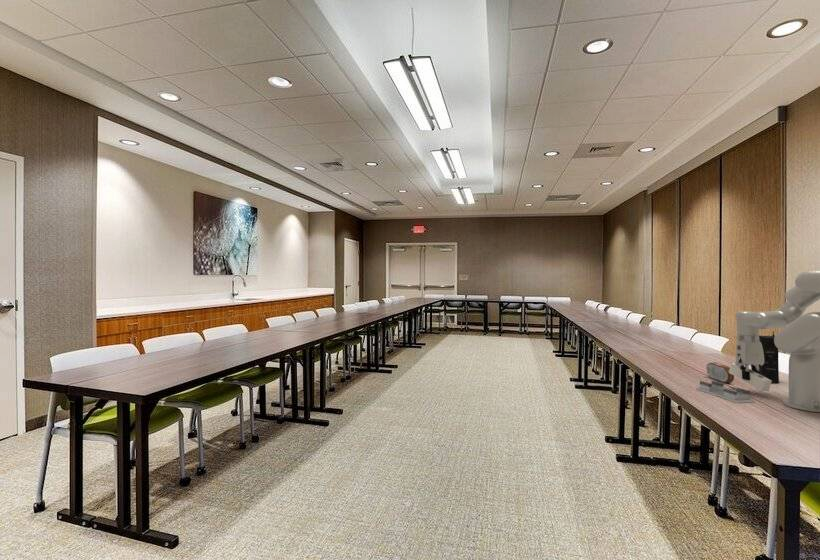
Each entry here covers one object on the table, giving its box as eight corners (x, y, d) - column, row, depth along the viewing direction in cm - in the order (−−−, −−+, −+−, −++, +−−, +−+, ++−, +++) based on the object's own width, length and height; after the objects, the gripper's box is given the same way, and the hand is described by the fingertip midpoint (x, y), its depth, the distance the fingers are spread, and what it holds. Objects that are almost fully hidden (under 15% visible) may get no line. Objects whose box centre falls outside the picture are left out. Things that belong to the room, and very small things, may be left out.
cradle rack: (754, 402, 163) (754, 392, 163) (736, 403, 162) (736, 393, 162) (711, 388, 183) (711, 379, 183) (696, 389, 182) (696, 380, 182)
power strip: (768, 391, 169) (772, 380, 168) (761, 391, 169) (764, 380, 168) (735, 372, 185) (738, 362, 183) (728, 372, 184) (731, 362, 183)
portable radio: (760, 382, 192) (760, 332, 192) (753, 379, 198) (753, 330, 198) (780, 383, 190) (780, 332, 190) (772, 380, 196) (772, 330, 195)
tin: (734, 384, 189) (734, 367, 189) (728, 384, 189) (728, 367, 189) (711, 376, 204) (711, 360, 204) (705, 376, 204) (705, 360, 204)
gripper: (739, 340, 172) (741, 382, 171) (773, 338, 174) (775, 380, 173) (724, 338, 179) (726, 378, 178) (756, 337, 181) (758, 377, 180)
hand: (750, 379), depth 176 cm, fingers closed on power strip, 3 cm apart
